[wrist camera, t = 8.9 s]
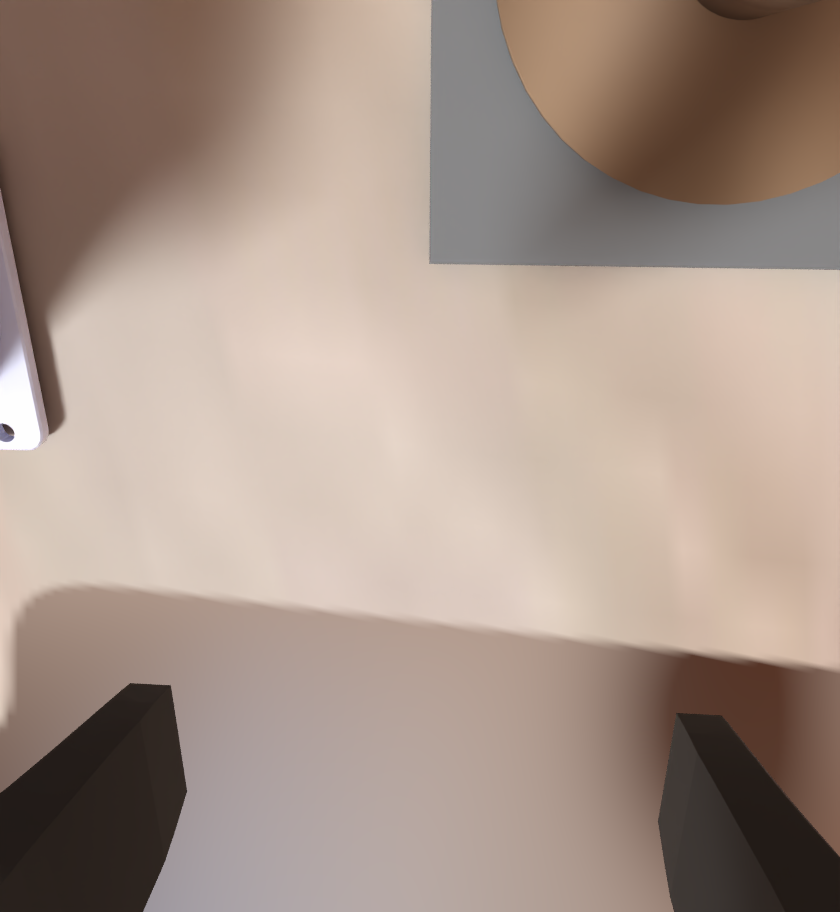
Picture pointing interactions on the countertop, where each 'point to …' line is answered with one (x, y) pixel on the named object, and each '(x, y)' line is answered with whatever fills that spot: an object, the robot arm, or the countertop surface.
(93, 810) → the robot arm
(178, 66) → the countertop surface
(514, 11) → the lid
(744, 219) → the mat
